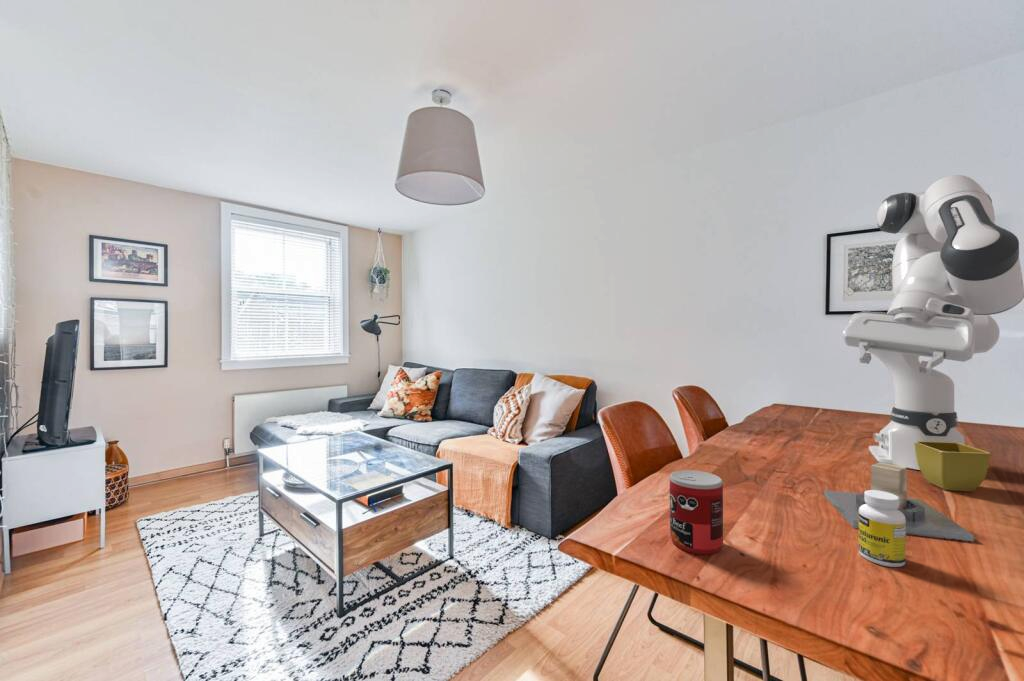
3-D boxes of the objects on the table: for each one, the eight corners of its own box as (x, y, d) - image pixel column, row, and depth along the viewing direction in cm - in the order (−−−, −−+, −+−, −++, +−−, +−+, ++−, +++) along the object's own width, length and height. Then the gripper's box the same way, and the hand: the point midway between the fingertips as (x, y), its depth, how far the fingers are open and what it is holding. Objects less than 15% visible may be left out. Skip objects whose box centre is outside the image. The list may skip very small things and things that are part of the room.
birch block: (879, 503, 83) (879, 462, 83) (906, 510, 79) (906, 467, 79) (871, 508, 81) (871, 465, 81) (898, 515, 77) (898, 471, 77)
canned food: (664, 533, 75) (663, 469, 74) (710, 533, 74) (710, 469, 74) (679, 555, 67) (679, 485, 67) (732, 555, 67) (731, 485, 66)
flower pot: (992, 496, 89) (992, 452, 89) (942, 493, 90) (942, 451, 90) (957, 482, 97) (957, 442, 97) (912, 480, 99) (912, 441, 99)
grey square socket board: (823, 495, 90) (823, 482, 90) (920, 505, 85) (920, 491, 85) (853, 527, 75) (853, 512, 75) (973, 542, 70) (973, 525, 70)
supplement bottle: (849, 552, 67) (849, 490, 67) (875, 547, 68) (875, 486, 68) (888, 571, 62) (888, 503, 62) (915, 565, 63) (915, 498, 63)
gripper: (852, 301, 98) (829, 347, 94) (984, 310, 81) (963, 367, 77) (856, 319, 101) (834, 365, 97) (983, 331, 85) (963, 387, 81)
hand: (892, 366), depth 87 cm, fingers open, 8 cm apart
